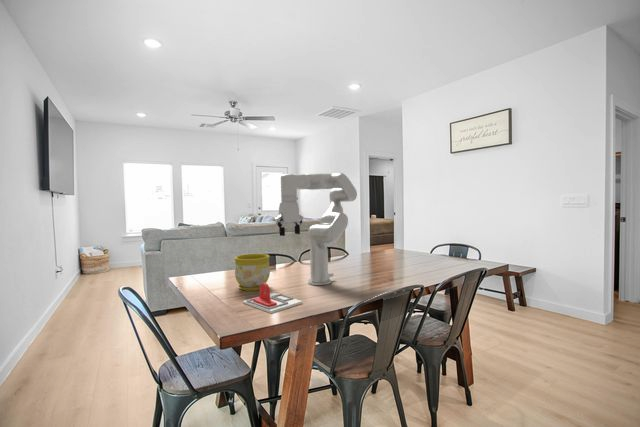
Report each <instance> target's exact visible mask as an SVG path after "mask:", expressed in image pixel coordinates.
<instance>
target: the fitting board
mask: <svg viewBox="0 0 640 427" xmlns="http://www.w3.org/2000/svg"><path fill="white" fill-rule="evenodd" d="M259 297H260V296H256V297H253V298H249V299H245V300H243V302H242V303H243V304H245V305H247V306H250V307H253V308H256V309H258V310H261V311H264V312H267V313H270V314H274V313H276V312H280V311H282V310H286V309H288V308H289V309H290V308H292V307H295V306H298V305H302V304H303V301H302V300H299V299H296V298H294V297H293V296H289V295H286V294H283V293H275V292H270V299H271V301H274V302H276V303H277V305H276V306H272V307H267V306H264V305H261V304H258V303H256V302H253V299H254V298H259Z"/></svg>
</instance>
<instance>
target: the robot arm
mask: <svg viewBox="0 0 640 427" xmlns="http://www.w3.org/2000/svg"><path fill="white" fill-rule="evenodd" d="M330 189H331V190H330ZM298 190H312V191H313V190H315V191H316V190H330V191H329V207H328V208H327V210H326V211H325V212H324V213H323V214H322V216H321V217H320V220H319V224H312V225H311V226H309V228H308V230H307V231H308V232H307V237H308V241H309V254H310V255H309V257H310V258H309V260H310V263H309V264H310V278H309V279H308V280H307V284H309V285H312V286H325V285H330V284H331V283H332V280H331V279H330V278H332V277H334V275H335V274H334V273H333V272H331V273H329V255H328V254H329V251H328V247H327V244H334V243H336V242H337V241H338V240H340V237H341V236H342V235H343V234H344V231H346V229H347V228H348V225H349V217H348V215H347V214H346V213H344V209H343V208H344V207H343V206H342V203H343V202H348V203H349V202H353V201H355V200H356V199H357V196H358V192H357V189H356V187H355V186H354V185H353V182H352V181H351V180H350V179H349V177H348V176H347V175H346V174H345V173H343V172H339V173H338V172H336V173H335V172H334V173H311V174H304V173H302V174H299V173H298V174H293V173H284V174H281V176H280V198H281V200H280V201H281V202H279V207H278V216H277V217H274V221H275V224H276V225H277V227H278V228H279V229H278V231H279V232H278V233H279V236H280V237H281V236H282V237H285V236H286V231H285V230H286V229H285V225H286V224H294V234H295V235H300V234H301V226H302V223H303V220H304V216H302V215H301V214H300V208H299V204H298V199H299V197H297V196H298V195H297V193H298V192H297V191H298Z"/></svg>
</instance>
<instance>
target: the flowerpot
mask: <svg viewBox="0 0 640 427" xmlns="http://www.w3.org/2000/svg"><path fill="white" fill-rule="evenodd" d="M233 259H234V261H235V262H234V264H235V265H234V275H235V280H236V281H237V283H238V284H239V285H238V287H239V288H240V290H241V291H247V292H252V291H253V292H255V291H260V285H261V284H262V283H266V284H267V282H268V280H269V278H270V275H271V269H270V268H271V267H270V259H271V258H270V255H269V254H266V253H247V254H246V253H245V254H239V255H236V256H234V258H233ZM267 285H268V284H267Z"/></svg>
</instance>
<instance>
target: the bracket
mask: <svg viewBox="0 0 640 427" xmlns="http://www.w3.org/2000/svg"><path fill="white" fill-rule="evenodd" d="M266 283H267V282H266ZM266 283H262V284H261V285H260V290H259V296H258V297H259V298H256V297H253V298H254V299H253V302H256V303H258V304H261V305H264V306H267V307H272V306H276V305H277V303H276V302H274V301H271V299H270V294H271V290H270V286H269V284H266Z"/></svg>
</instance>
